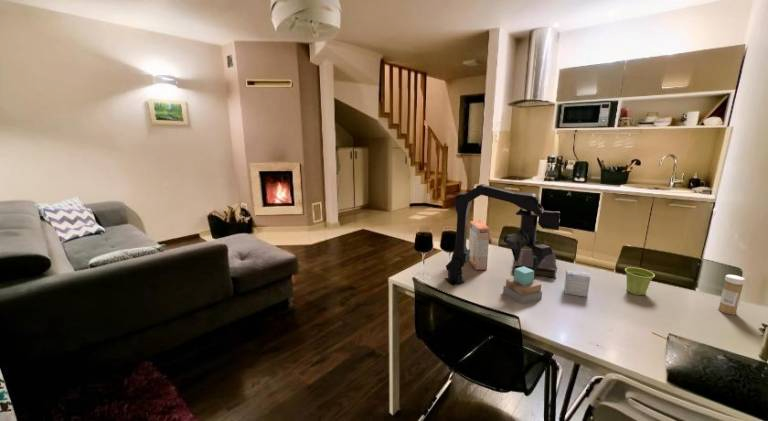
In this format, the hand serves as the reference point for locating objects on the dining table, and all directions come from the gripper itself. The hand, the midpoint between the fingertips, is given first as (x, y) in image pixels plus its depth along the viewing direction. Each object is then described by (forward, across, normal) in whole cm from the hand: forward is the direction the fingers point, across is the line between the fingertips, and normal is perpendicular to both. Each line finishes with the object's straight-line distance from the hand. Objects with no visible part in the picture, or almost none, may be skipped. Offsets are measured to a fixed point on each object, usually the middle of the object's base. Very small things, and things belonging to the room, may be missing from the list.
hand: (524, 265), depth 124 cm
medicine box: (+13, +7, +21) cm, 26 cm away
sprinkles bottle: (+13, +38, +57) cm, 70 cm away
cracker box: (+13, -33, +4) cm, 36 cm away
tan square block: (+10, 0, 0) cm, 10 cm away
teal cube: (+7, 0, 0) cm, 7 cm away
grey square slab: (+14, 0, 0) cm, 14 cm away
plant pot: (+13, +16, +44) cm, 49 cm away
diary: (+14, -20, +28) cm, 37 cm away
